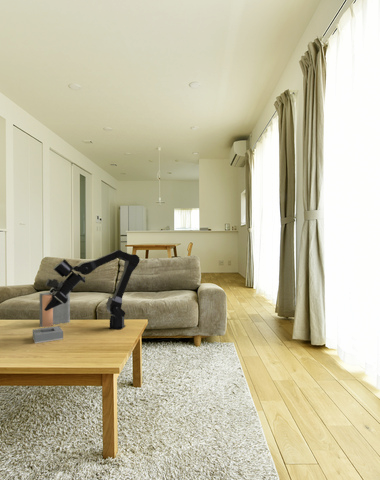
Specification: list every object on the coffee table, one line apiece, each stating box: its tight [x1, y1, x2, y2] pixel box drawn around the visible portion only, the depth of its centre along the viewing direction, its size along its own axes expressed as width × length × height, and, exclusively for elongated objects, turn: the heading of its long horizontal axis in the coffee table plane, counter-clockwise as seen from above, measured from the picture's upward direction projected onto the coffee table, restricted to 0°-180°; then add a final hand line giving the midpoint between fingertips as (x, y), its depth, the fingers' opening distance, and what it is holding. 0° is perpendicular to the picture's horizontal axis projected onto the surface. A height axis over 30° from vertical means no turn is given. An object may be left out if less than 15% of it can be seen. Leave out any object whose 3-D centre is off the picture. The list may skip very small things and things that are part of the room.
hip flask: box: [39, 291, 71, 328], centre depth 171 cm, size 16×4×20 cm, turn 132°
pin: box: [42, 295, 54, 328], centre depth 144 cm, size 4×4×14 cm
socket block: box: [32, 325, 64, 344], centre depth 143 cm, size 12×12×4 cm
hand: (44, 309), depth 143 cm, fingers closed on pin, 4 cm apart
